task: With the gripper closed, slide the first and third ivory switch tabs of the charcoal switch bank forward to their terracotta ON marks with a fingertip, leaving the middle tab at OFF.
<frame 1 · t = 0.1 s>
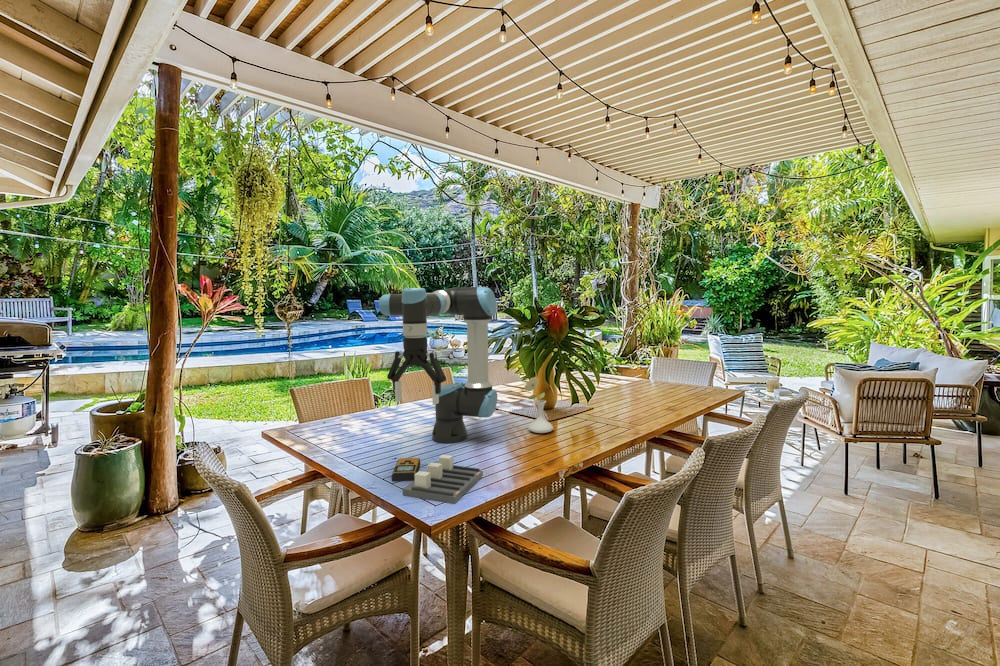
hand: (416, 402, 154), 28 cm above the table, tool pointing down, fingers open, 13 cm apart
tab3: (422, 480, 150), point 4 cm above the table, slide at 0.0 cm
electronic device: (406, 473, 169), on the table
tab1: (445, 462, 165), point 4 cm above the table, slide at 0.0 cm
switch bank: (444, 485, 157), on the table
tab2: (434, 471, 158), point 4 cm above the table, slide at 0.0 cm
flower in vase: (539, 432, 215), on the table
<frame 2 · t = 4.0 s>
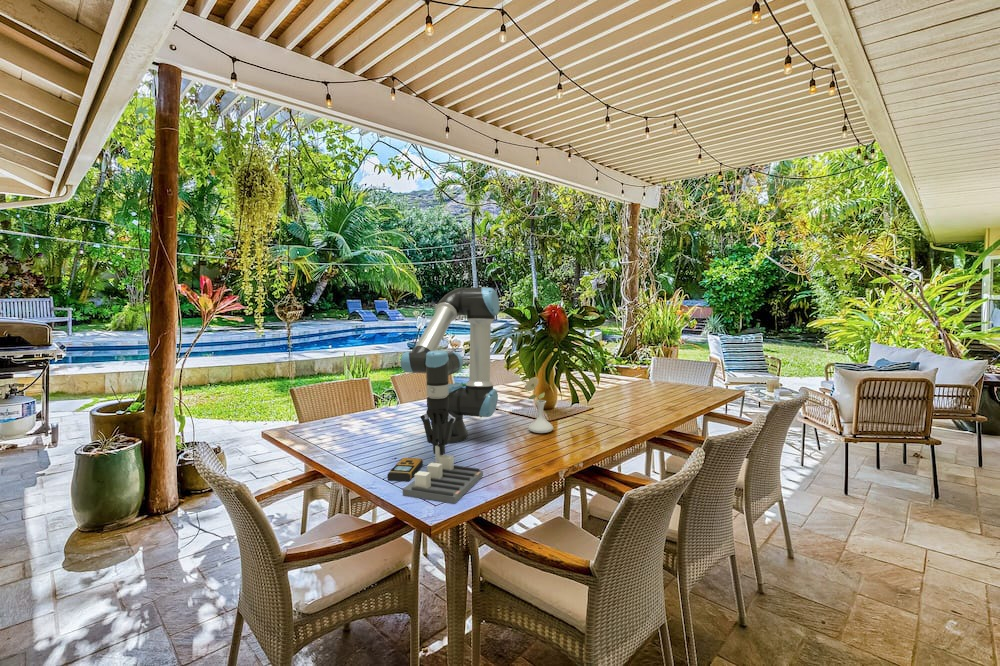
hand: (439, 463, 166), 4 cm above the table, tool pointing down, fingers closed
tab1: (446, 463, 165), point 4 cm above the table, slide at 0.2 cm, touching gripper
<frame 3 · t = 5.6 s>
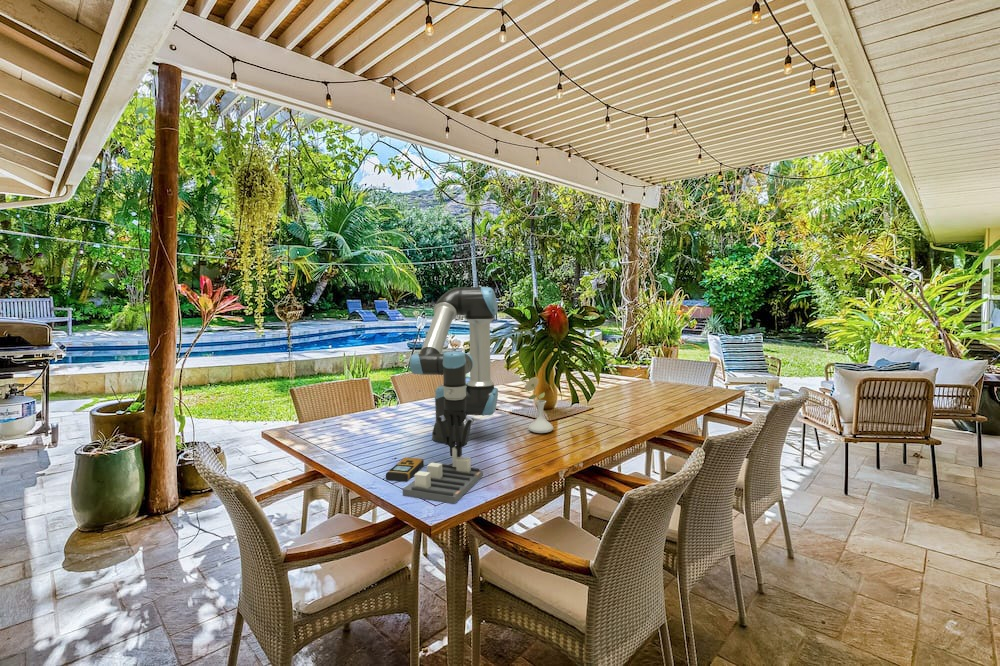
hand: (456, 465, 164), 4 cm above the table, tool pointing down, fingers closed
tab1: (463, 465, 163), point 4 cm above the table, slide at 6.7 cm, touching gripper
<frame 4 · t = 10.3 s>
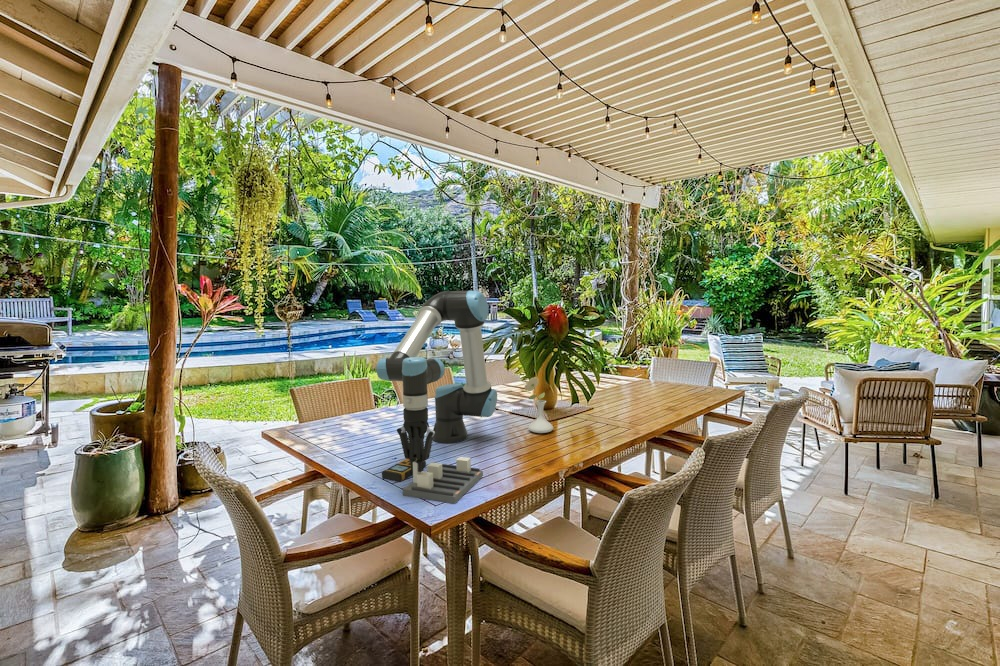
hand: (417, 480, 151), 4 cm above the table, tool pointing down, fingers closed
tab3: (425, 480, 150), point 4 cm above the table, slide at 0.9 cm, touching gripper
tab1: (463, 465, 163), point 4 cm above the table, slide at 6.7 cm
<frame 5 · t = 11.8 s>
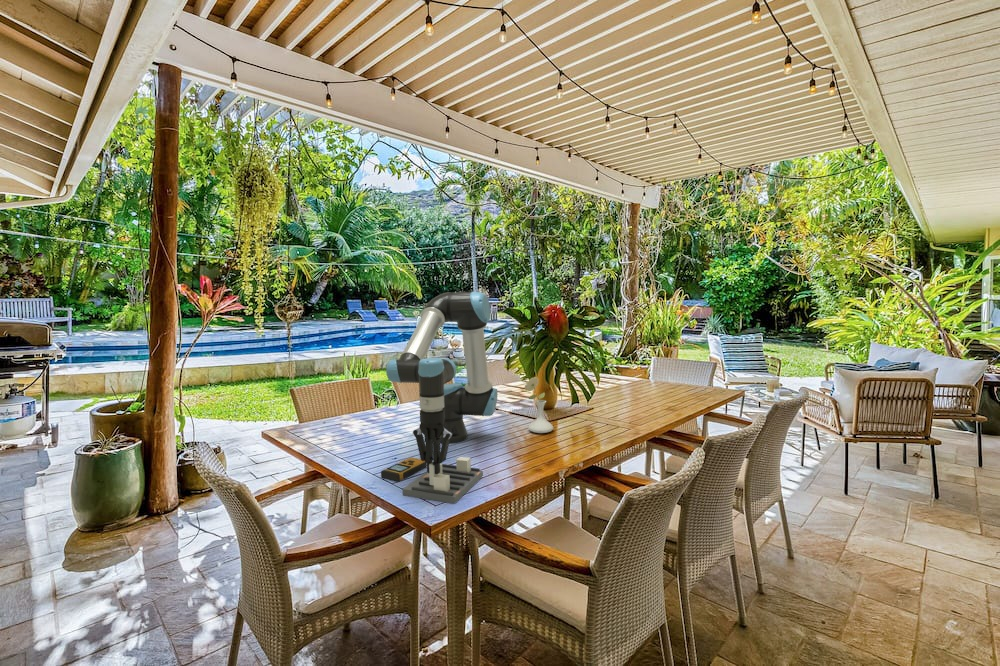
hand: (433, 483, 149), 4 cm above the table, tool pointing down, fingers closed
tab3: (441, 483, 148), point 4 cm above the table, slide at 6.7 cm, touching gripper
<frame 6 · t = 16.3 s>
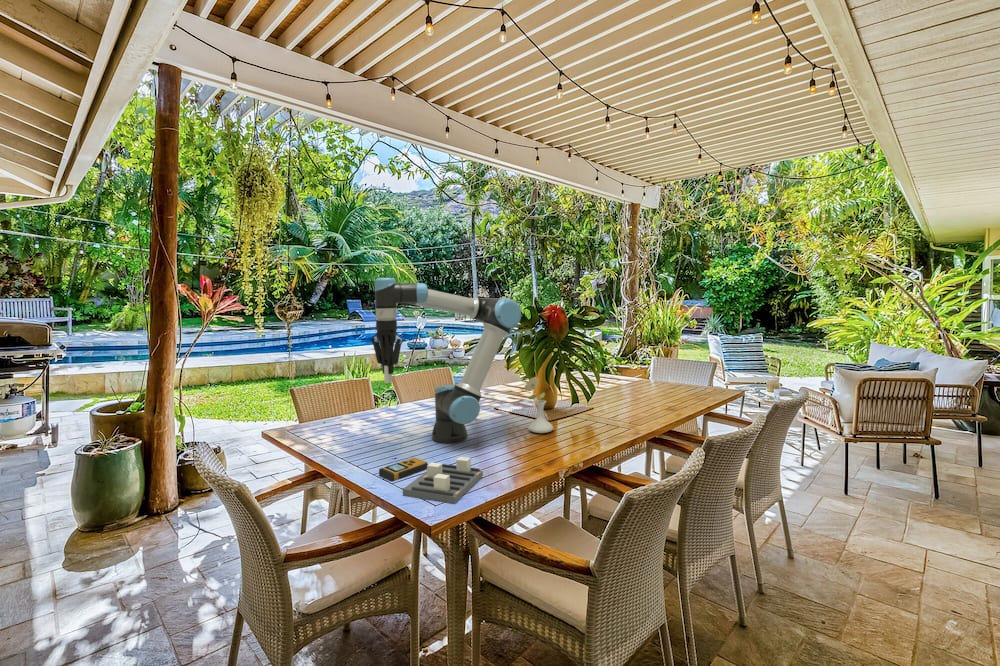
hand: (388, 382, 180), 29 cm above the table, tool pointing down, fingers closed
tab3: (441, 483, 148), point 4 cm above the table, slide at 6.7 cm
at the end: tab1 slide at 6.7 cm; tab2 slide at 0.0 cm; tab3 slide at 6.7 cm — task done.
